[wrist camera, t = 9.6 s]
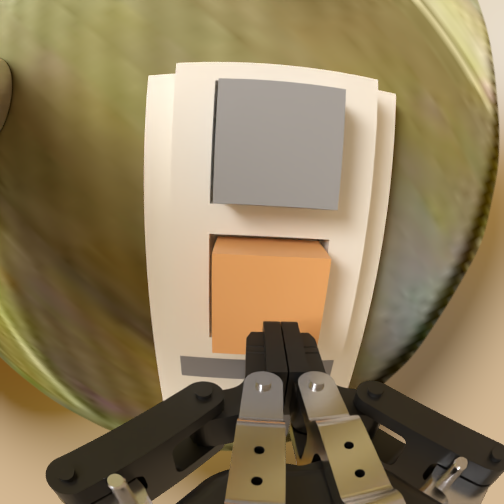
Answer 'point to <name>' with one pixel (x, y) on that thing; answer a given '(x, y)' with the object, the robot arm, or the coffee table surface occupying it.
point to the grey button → (278, 143)
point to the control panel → (254, 218)
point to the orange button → (265, 287)
